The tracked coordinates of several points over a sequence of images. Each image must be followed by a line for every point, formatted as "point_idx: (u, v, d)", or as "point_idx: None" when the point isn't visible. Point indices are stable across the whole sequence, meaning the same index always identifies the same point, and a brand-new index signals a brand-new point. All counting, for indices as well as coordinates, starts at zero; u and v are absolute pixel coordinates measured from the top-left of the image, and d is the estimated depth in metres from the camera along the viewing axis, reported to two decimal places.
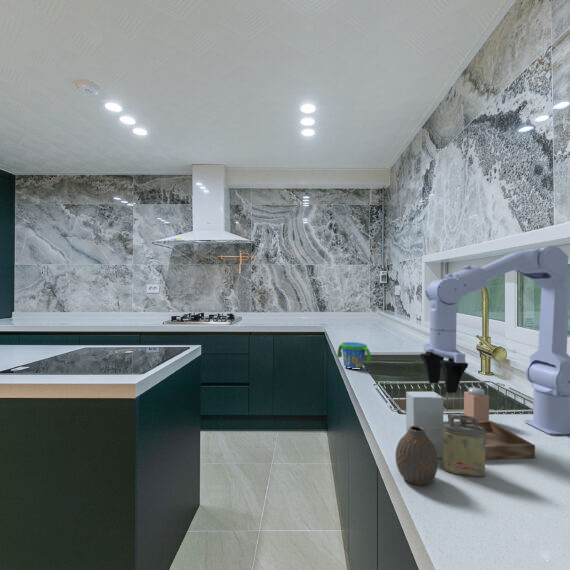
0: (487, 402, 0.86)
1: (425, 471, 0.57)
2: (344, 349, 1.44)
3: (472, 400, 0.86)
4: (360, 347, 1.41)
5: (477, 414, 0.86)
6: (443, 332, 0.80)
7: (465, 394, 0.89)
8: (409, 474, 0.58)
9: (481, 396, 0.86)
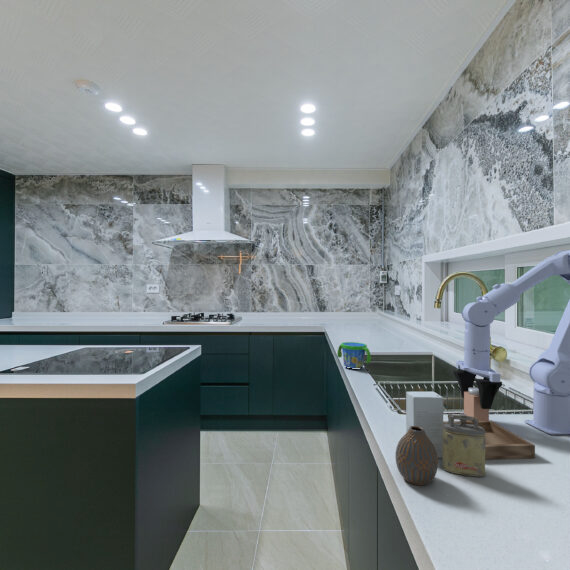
0: None
1: (425, 471, 0.57)
2: (344, 349, 1.44)
3: (472, 400, 0.86)
4: (360, 347, 1.41)
5: (477, 414, 0.86)
6: (478, 352, 0.86)
7: (465, 394, 0.89)
8: (409, 474, 0.58)
9: None
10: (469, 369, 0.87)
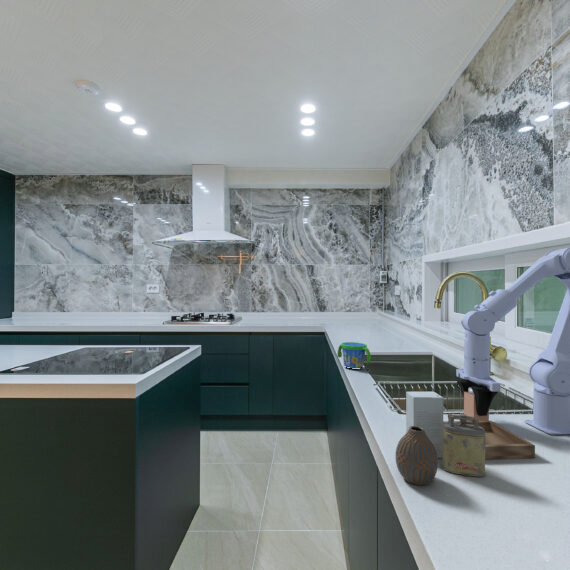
0: None
1: (425, 471, 0.57)
2: (344, 349, 1.44)
3: (472, 400, 0.86)
4: (360, 347, 1.41)
5: None
6: (478, 361, 0.86)
7: (465, 394, 0.89)
8: (409, 474, 0.58)
9: None
10: (469, 378, 0.87)
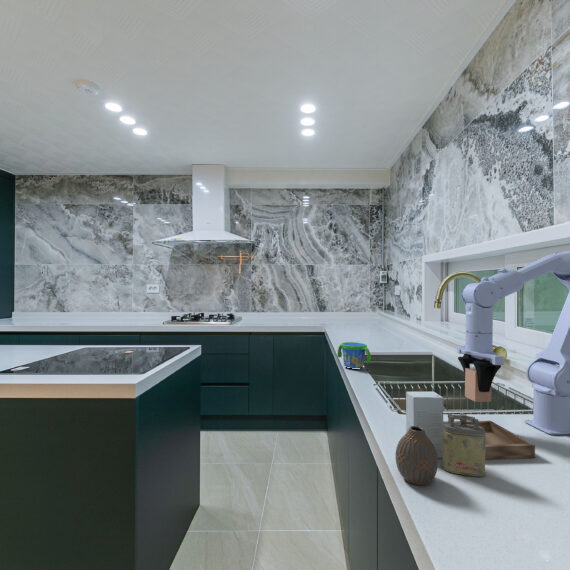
0: None
1: (425, 471, 0.57)
2: (344, 349, 1.44)
3: (474, 376, 0.82)
4: (360, 347, 1.41)
5: None
6: (480, 335, 0.81)
7: (466, 370, 0.85)
8: (409, 474, 0.58)
9: None
10: (471, 353, 0.82)
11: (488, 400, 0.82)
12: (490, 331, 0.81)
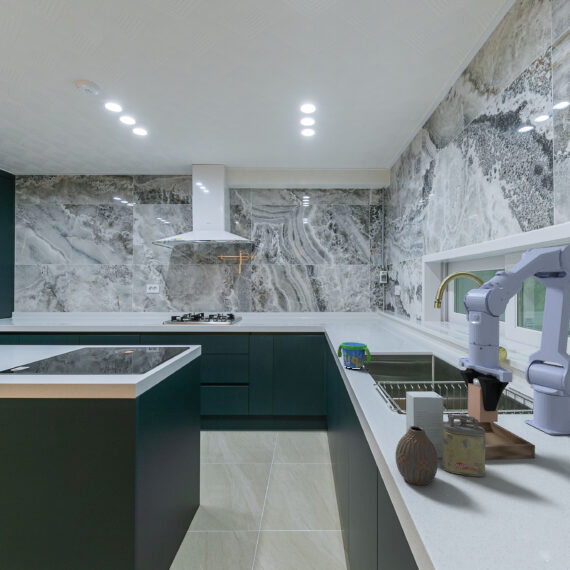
0: None
1: (425, 471, 0.57)
2: (344, 349, 1.44)
3: (478, 393, 0.73)
4: (360, 347, 1.41)
5: None
6: (485, 347, 0.73)
7: (470, 386, 0.76)
8: (409, 474, 0.58)
9: None
10: (475, 367, 0.73)
11: (494, 420, 0.73)
12: (498, 342, 0.73)
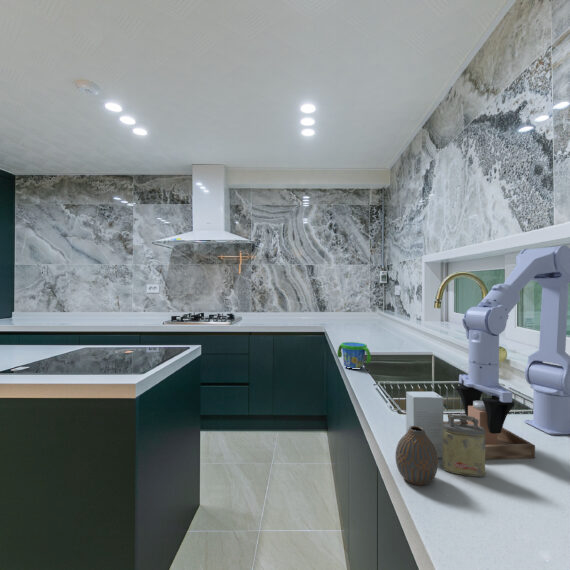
0: None
1: (425, 471, 0.57)
2: (344, 349, 1.44)
3: (478, 416, 0.73)
4: (360, 347, 1.41)
5: None
6: (485, 366, 0.72)
7: (469, 409, 0.76)
8: (409, 474, 0.58)
9: None
10: (475, 386, 0.73)
11: None
12: (498, 361, 0.73)
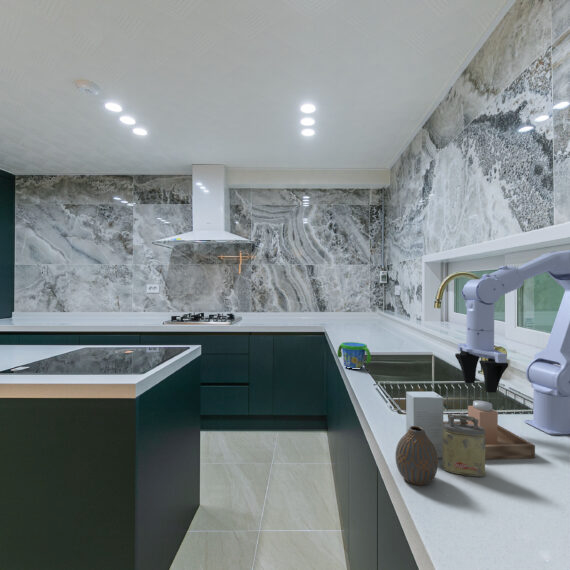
0: (495, 419, 0.73)
1: (425, 471, 0.57)
2: (344, 349, 1.44)
3: (478, 416, 0.73)
4: (360, 347, 1.41)
5: None
6: (482, 332, 0.80)
7: (469, 409, 0.76)
8: (409, 474, 0.58)
9: (488, 412, 0.73)
10: (472, 350, 0.81)
11: None
12: (492, 328, 0.80)
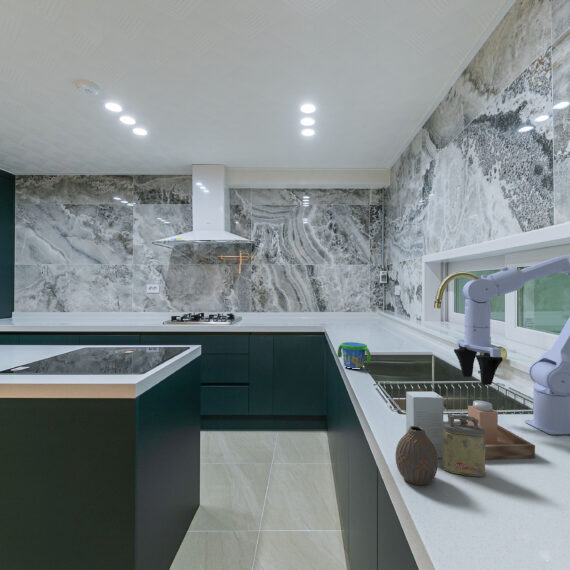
0: (495, 419, 0.73)
1: (425, 471, 0.57)
2: (344, 349, 1.44)
3: (478, 416, 0.73)
4: (360, 347, 1.41)
5: None
6: (478, 329, 0.86)
7: (469, 409, 0.76)
8: (409, 474, 0.58)
9: (488, 412, 0.73)
10: (469, 346, 0.87)
11: None
12: (486, 325, 0.86)
